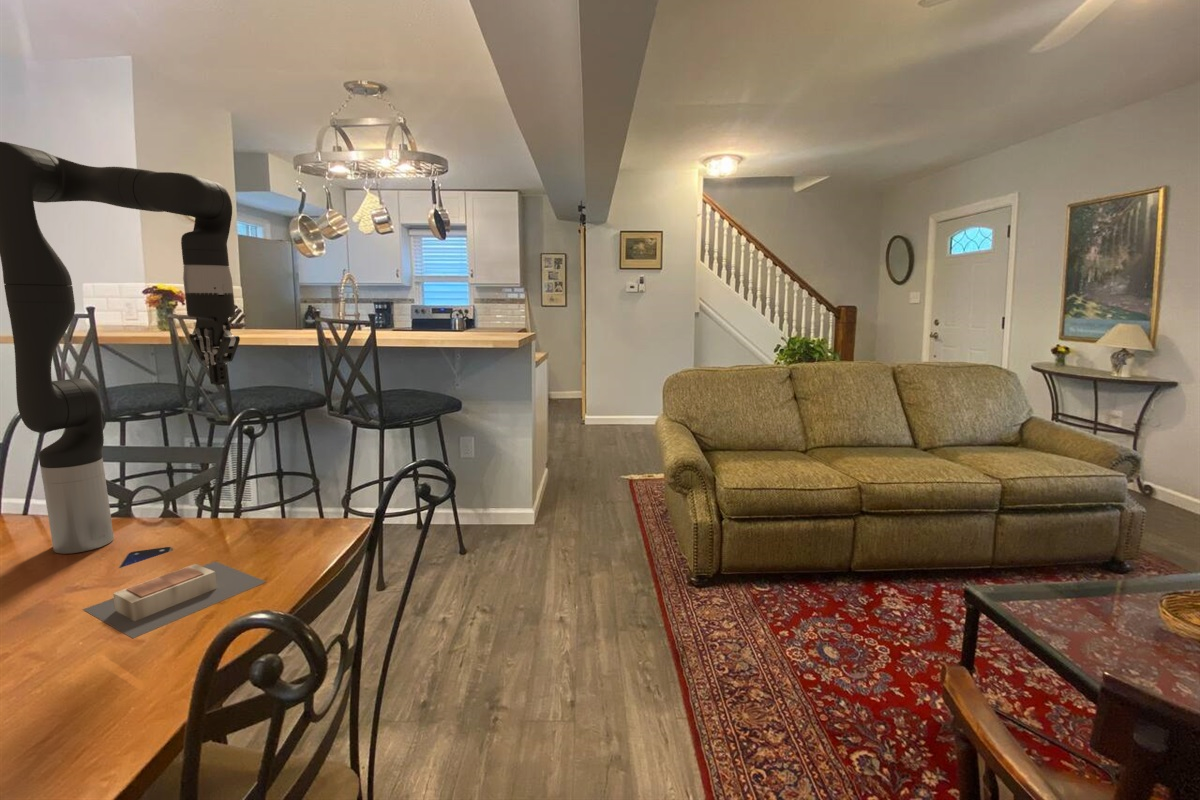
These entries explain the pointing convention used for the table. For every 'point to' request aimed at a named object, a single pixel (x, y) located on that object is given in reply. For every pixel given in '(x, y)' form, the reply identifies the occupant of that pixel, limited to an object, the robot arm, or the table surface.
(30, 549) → the table surface
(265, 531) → the table surface
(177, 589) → the beige rectangular block
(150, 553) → the smartphone
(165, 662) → the table surface
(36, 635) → the table surface
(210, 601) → the rubber mat
